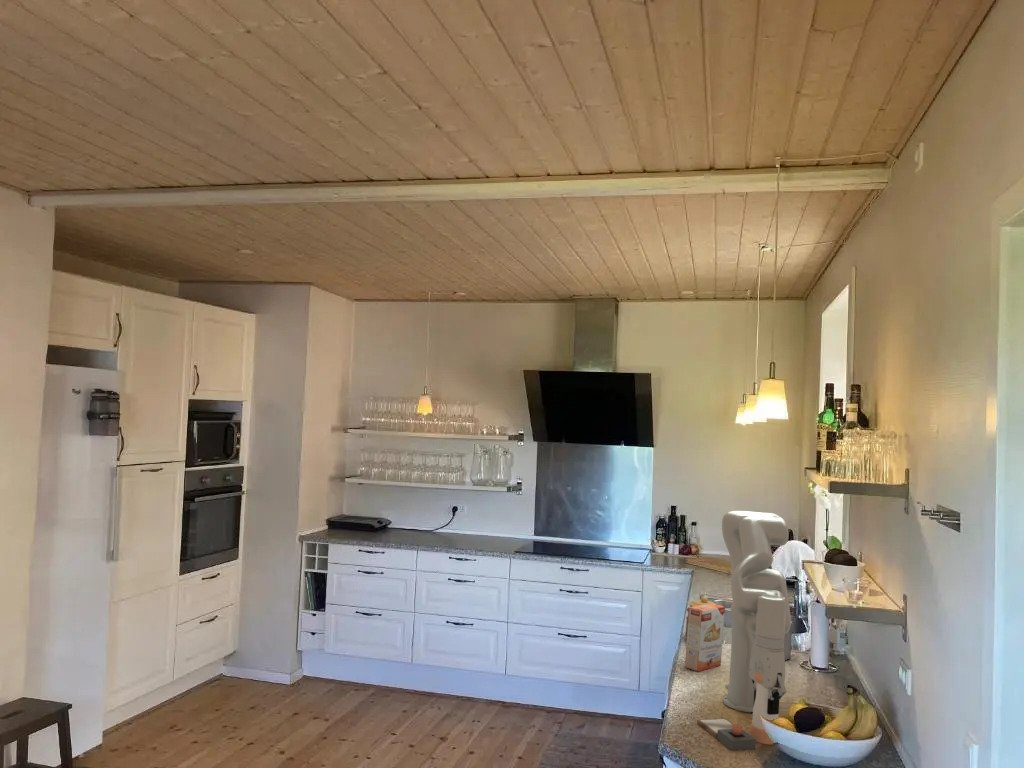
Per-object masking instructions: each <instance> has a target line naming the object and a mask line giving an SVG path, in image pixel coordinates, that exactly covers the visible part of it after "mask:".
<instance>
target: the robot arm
mask: <svg viewBox="0 0 1024 768" xmlns="http://www.w3.org/2000/svg"><path fill="white" fill-rule="evenodd" d="M721 531H722V532H721V533H722V537H723V540H724V544H725V546H726V548H727V551H728V554H729V557H730V558H729V559H730V570H731V571H730V572H731V580H730V582H731V583H730V588H731V589H730V590H731V599H732V604H731V605H730V608H729V609H730V611H729V613H730V623H731V624H730V625H731V626H730V627H731V646H730V647H731V649H730V667H729V669H730V670H729V684H728V683H727V684H726V683H725V685H724V688H725V689H726V690H727V694H725V695H724V696H723V697H722V702H723V704H724V705H725V706H726V707H728V708H731V709H733V710H735V711H739V712H744V713H751V712H753V708H754V703H755V699H756V687H757V683H759V682H757V681H756V680H755V678H754V674H755V673H756V672H759V673H761V675H762V677H763V682H762V684H761V683H759V684H761V685H762V686H764V687H765V688H767V689H769V697H770V699H768V707H767V713H768V714H769V715H774V714H779V713H780V701H781V700H782V698H783V696H784V695H785V694H786V693H787V689H786V686H785V680H786V661H785V658H784V651H783V650H784V637H785V634H786V633H787V632H788V631H789V630H790V626H791V621H792V620H791V619H792V618H791V609H790V602H789V601H790V600H789V595H788V594H789V593H788V587H787V580H786V577H785V576H784V574H783V573H782V572H781V570H778V569H773V568H771V566H772V564H773V561H774V557H773V553H772V547H771V546H780V547H781V546H785V545H786V544H787V543H788V541H789V534H790V533H789V528H788V525H787V522H786V520H785V519H784V518H783V517H781V516H780V515H779V514H776V513H773V512H760V511H759V512H758V511H750V510H732V511H728V512H726V513H725V514H724V515H723V516H722V519H721ZM776 682H777V685H776V687H774V686H775V684H776ZM773 690H776V692H775V693H774V694H773Z"/></svg>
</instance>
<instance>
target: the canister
mask: <svg viewBox="0 0 1024 768" xmlns="http://www.w3.org/2000/svg"><path fill="white" fill-rule="evenodd" d="M710 603H713V604H716V603H715V601H711V600H709V599H708V597H707V596H705V595H703V596H701V598H700V599H693V600H692V601H690V602H689V603H688V604H689V607H693V606H699V605H705V604H710ZM689 607H687V608H686V611H687V616H686V618H685V619H686V622H685V633H684V637H685V638H684V639H685V641H686V642H687V630H688V616H689Z"/></svg>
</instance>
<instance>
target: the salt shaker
mask: <svg viewBox="0 0 1024 768" xmlns="http://www.w3.org/2000/svg"><path fill="white" fill-rule="evenodd" d="M754 678H755V680H756V681H757V682H759V683H761V684H762V682H763V677H762V675H761V673H759V672H756V673H755V674H754ZM759 683H757V687H756V699H755V703H754V708H753V713H752V721H751V723H750V731H749V733H750V734H749V735H751V736H752V737H753V738H755V739H756V743H760V744H764V745H774V744H773V742H772V741H771V739H770V738H769V736H768V734H767V733H766V732H765V730H764V728H763V724H762V720H761V717H760V716H763V717H764V718H766V719H768V720H773V719H776V718H778V719H779V715H780V714H779V713H778V714H774V715H769V714H768V713H767V707H768V699H770V697H769V689H767V688H765V687H764V686H762V685H761V684H759ZM776 685H777V682H776V684H775V686H774V687H776ZM775 692H776V690H773V694H774V693H775Z"/></svg>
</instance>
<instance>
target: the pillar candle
mask: <svg viewBox="0 0 1024 768" xmlns="http://www.w3.org/2000/svg"><path fill="white" fill-rule="evenodd" d="M792 628H793V621H792V620H791V626H790V630H789V631H788V632H787V633H786V634H785V637H784V650H783V651H784V658H785V660H787V659H790V660H791V657H792V656H791V654H792V632H793V629H792Z"/></svg>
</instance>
